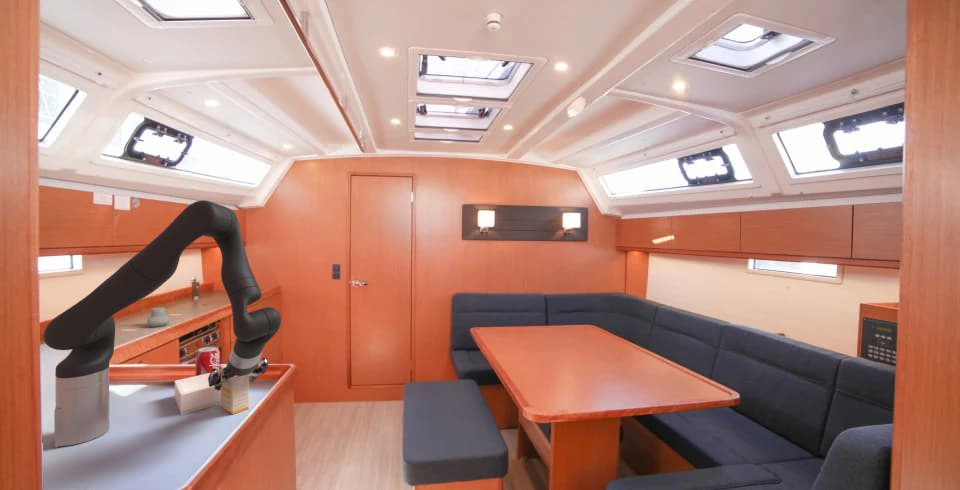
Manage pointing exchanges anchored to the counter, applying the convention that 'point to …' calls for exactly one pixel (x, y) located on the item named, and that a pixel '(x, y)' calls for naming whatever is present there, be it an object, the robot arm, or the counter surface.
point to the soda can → (207, 360)
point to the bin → (195, 394)
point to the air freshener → (158, 317)
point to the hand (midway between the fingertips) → (235, 383)
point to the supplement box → (235, 394)
